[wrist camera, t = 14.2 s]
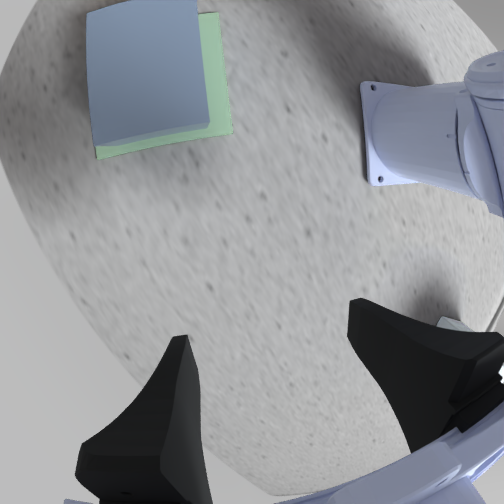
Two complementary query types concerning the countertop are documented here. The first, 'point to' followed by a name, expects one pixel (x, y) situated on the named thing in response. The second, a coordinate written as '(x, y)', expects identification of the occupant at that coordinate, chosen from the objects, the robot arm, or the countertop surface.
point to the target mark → (214, 90)
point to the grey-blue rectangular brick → (145, 71)
